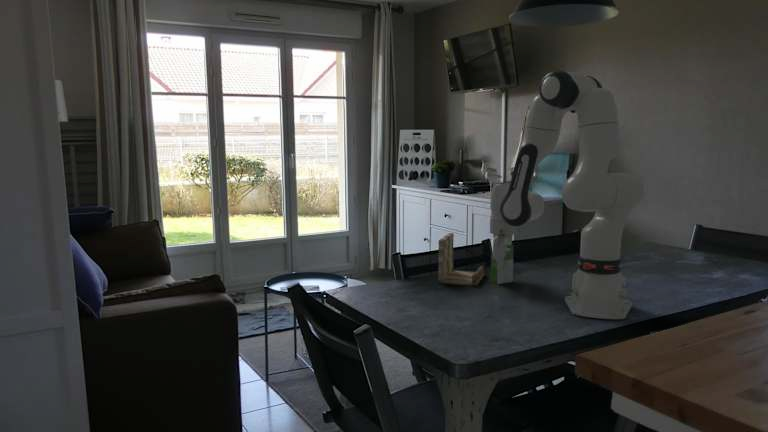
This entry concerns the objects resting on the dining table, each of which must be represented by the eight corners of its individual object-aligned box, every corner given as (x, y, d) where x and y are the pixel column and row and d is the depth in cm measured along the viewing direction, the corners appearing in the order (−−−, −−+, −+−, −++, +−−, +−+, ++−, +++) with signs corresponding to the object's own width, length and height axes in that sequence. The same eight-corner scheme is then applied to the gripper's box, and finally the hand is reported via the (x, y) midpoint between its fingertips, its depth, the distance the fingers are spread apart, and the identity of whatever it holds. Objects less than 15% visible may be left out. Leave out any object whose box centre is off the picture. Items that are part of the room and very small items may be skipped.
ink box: (505, 279, 200) (506, 242, 198) (513, 282, 196) (514, 244, 194) (490, 282, 196) (490, 244, 195) (497, 284, 193) (498, 246, 191)
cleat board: (476, 286, 191) (476, 242, 189) (438, 282, 196) (438, 240, 194) (484, 275, 206) (484, 234, 204) (448, 272, 210) (449, 233, 208)
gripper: (508, 233, 183) (507, 275, 185) (515, 224, 202) (514, 262, 204) (488, 232, 185) (487, 273, 187) (497, 223, 204) (496, 260, 206)
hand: (501, 267), depth 196 cm, fingers open, 7 cm apart
